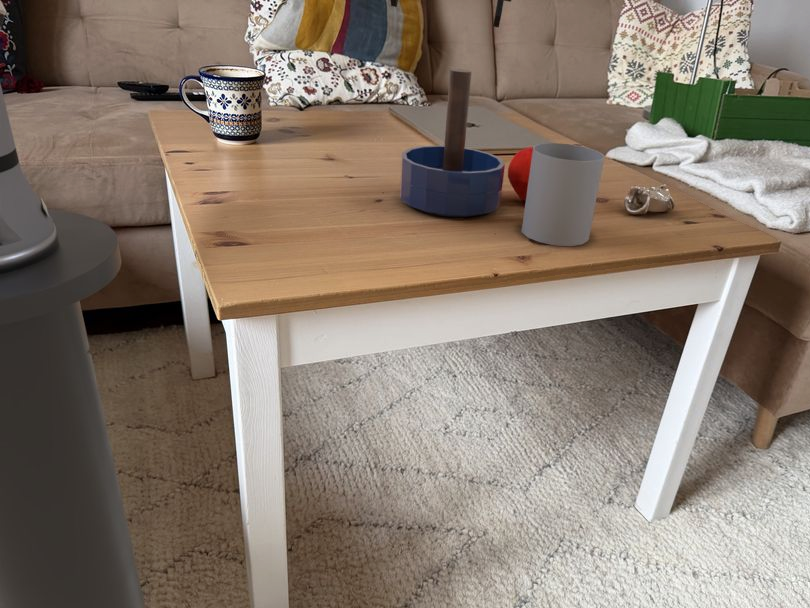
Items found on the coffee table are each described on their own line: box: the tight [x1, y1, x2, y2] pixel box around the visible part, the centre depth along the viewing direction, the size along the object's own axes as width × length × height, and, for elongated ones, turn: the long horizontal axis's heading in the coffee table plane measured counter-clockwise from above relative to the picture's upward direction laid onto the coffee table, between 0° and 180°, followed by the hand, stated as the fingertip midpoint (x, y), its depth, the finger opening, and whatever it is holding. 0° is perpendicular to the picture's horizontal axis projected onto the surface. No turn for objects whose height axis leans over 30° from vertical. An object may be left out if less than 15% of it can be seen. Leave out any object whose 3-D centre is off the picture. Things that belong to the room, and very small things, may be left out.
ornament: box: [623, 183, 676, 216], centre depth 94 cm, size 8×7×4 cm
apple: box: [507, 146, 533, 203], centre depth 92 cm, size 8×8×7 cm
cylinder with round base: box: [443, 68, 472, 171], centre depth 85 cm, size 4×4×16 cm
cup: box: [521, 142, 605, 247], centre depth 80 cm, size 8×8×10 cm
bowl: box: [399, 145, 506, 218], centre depth 88 cm, size 13×13×6 cm
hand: (445, 11), depth 87 cm, fingers open, 13 cm apart
